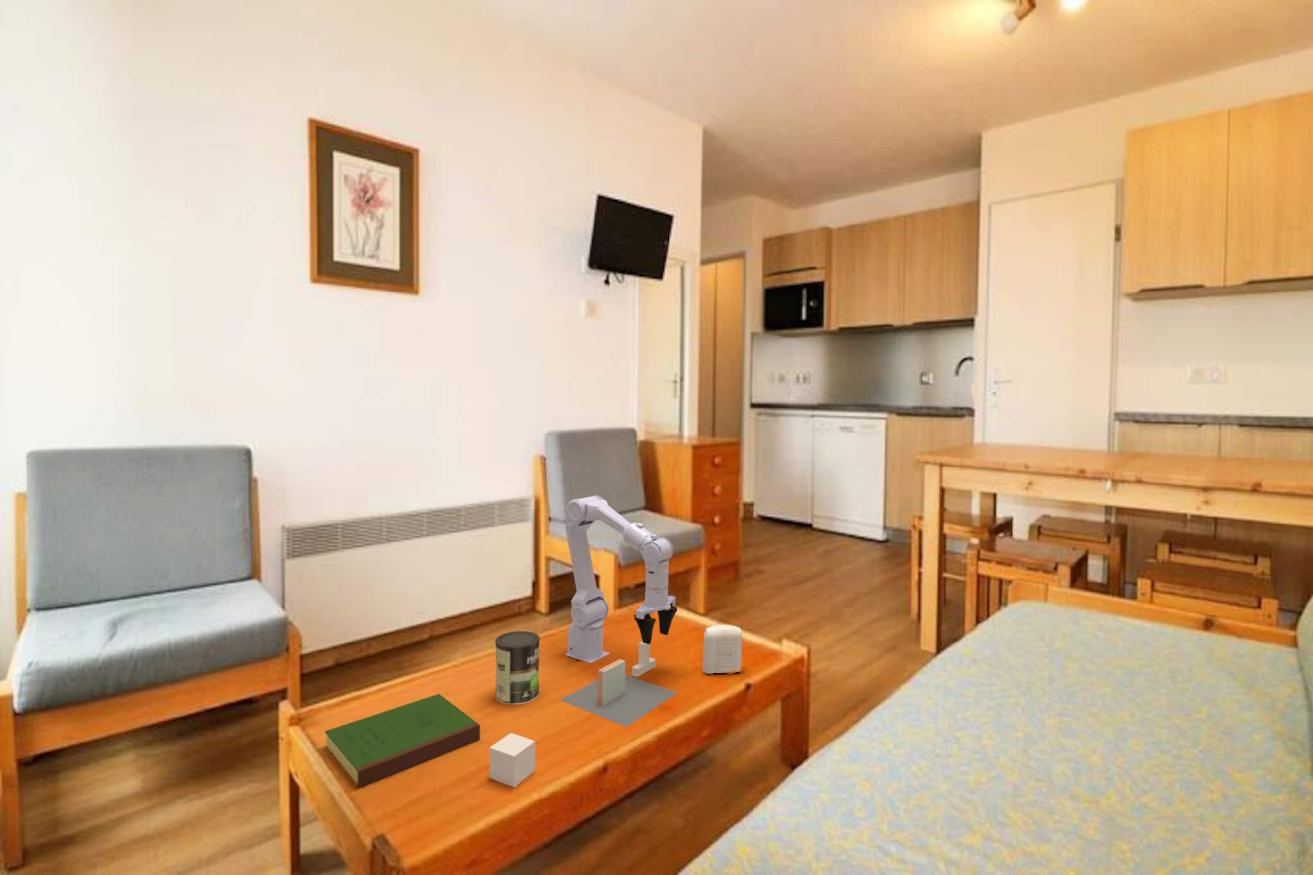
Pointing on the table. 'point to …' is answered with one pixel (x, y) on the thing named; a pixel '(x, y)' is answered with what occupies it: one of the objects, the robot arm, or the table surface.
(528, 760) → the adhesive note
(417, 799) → the table surface
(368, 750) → the hardcover book
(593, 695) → the mat
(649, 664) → the beige t-shaped block
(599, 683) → the tile
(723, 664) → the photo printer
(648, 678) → the table surface
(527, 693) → the coffee can
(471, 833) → the table surface
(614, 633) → the table surface
